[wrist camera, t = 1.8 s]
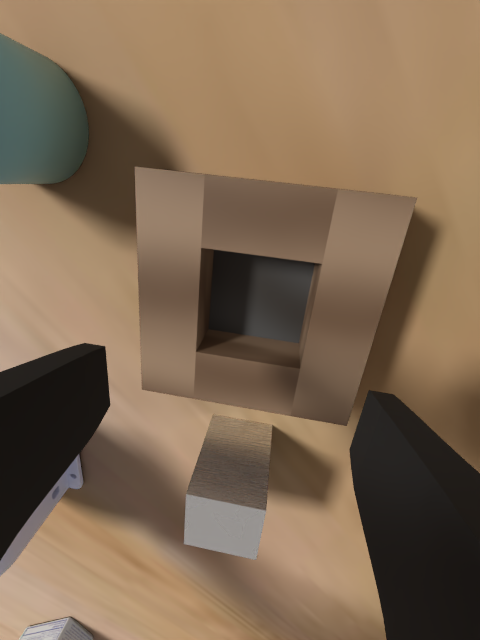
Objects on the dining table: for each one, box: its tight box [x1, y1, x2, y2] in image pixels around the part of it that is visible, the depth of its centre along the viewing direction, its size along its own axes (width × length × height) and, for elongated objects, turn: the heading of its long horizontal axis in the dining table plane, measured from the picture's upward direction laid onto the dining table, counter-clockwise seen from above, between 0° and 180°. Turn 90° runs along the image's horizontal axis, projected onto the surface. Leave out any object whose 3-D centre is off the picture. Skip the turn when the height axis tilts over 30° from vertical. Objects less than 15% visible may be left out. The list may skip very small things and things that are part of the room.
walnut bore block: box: [135, 167, 417, 426], centre depth 16 cm, size 11×11×3 cm
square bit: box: [184, 414, 272, 560], centre depth 19 cm, size 4×4×6 cm
